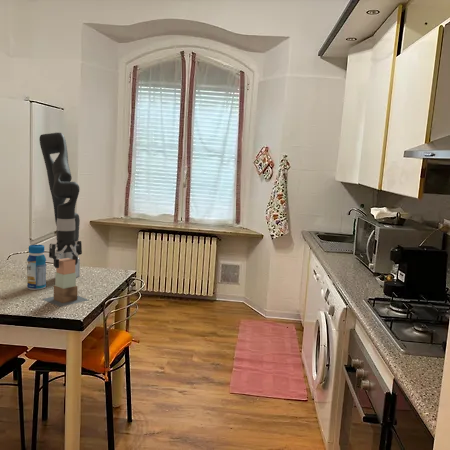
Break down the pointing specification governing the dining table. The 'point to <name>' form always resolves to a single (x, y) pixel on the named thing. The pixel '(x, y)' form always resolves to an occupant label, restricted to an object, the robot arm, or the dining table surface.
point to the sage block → (65, 280)
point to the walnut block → (65, 294)
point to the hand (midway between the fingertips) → (65, 266)
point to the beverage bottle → (36, 268)
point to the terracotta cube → (66, 266)
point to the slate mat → (79, 299)
